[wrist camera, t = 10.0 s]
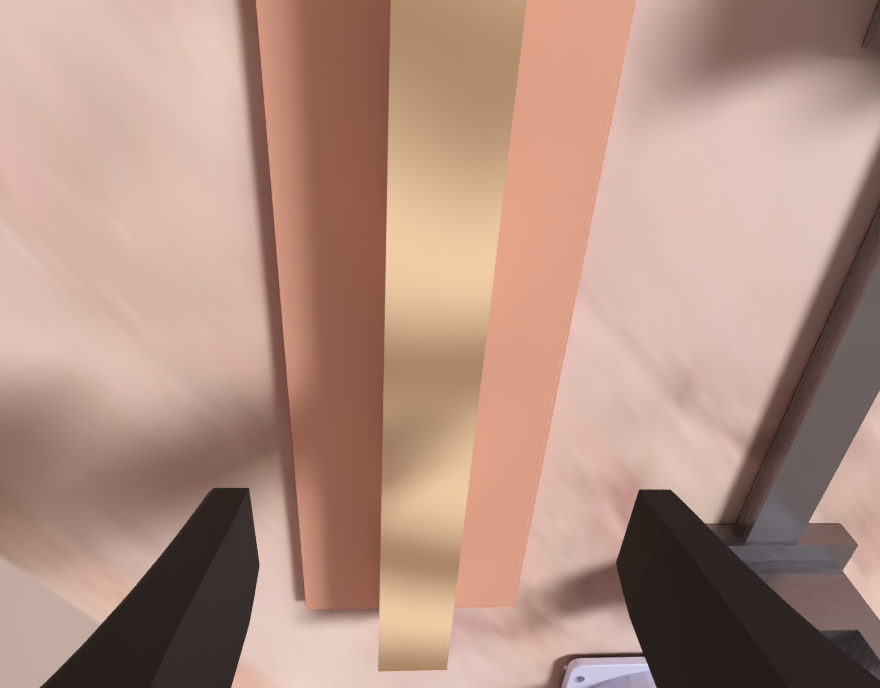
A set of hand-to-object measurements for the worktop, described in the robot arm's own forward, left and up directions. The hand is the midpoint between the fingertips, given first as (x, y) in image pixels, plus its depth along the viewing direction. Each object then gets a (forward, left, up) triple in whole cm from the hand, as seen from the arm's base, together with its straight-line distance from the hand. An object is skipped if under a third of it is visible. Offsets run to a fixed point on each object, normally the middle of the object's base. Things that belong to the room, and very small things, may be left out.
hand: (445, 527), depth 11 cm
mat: (0, 0, -7) cm, 7 cm away
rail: (0, 0, -7) cm, 7 cm away
